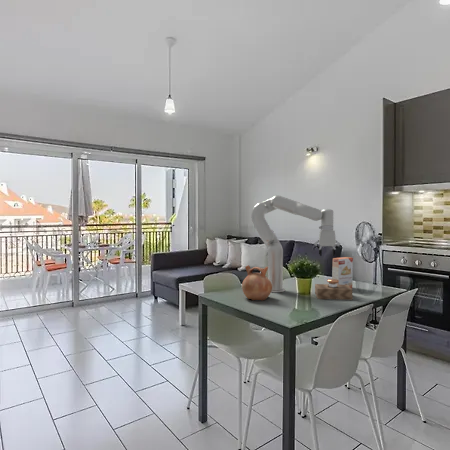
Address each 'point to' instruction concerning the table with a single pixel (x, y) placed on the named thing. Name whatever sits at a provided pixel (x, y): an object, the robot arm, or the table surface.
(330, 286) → the knob
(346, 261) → the cracker box
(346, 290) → the brown patterned box
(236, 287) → the table surface
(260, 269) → the jug
